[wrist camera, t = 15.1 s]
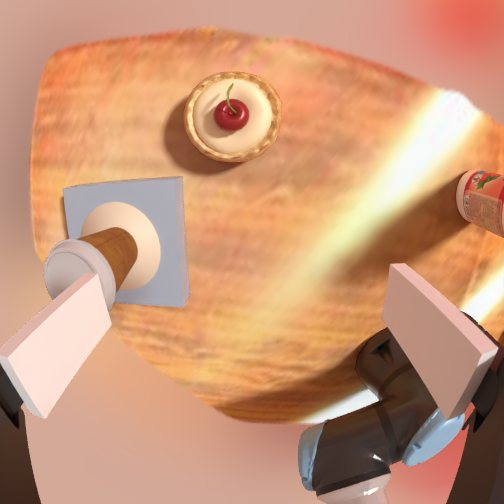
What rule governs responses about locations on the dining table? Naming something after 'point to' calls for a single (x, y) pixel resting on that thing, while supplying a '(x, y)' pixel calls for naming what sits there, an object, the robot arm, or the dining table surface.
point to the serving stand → (138, 233)
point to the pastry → (233, 116)
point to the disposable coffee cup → (92, 261)
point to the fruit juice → (482, 200)
